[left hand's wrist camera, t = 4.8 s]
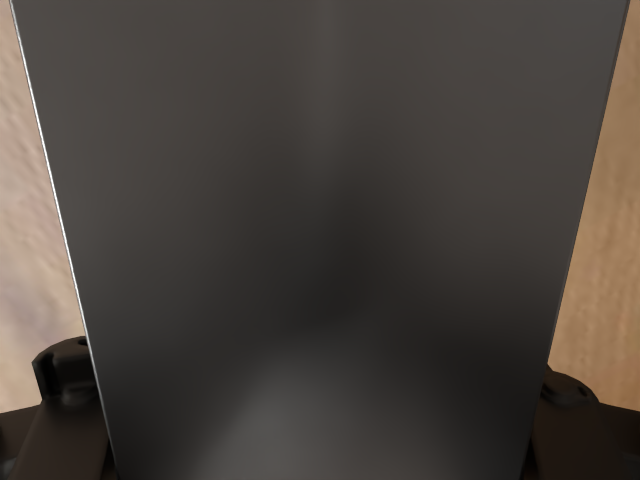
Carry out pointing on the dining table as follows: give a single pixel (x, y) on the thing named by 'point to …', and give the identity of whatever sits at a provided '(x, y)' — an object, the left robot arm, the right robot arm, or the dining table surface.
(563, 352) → the dining table surface
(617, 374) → the dining table surface
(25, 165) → the dining table surface
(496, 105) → the bar
